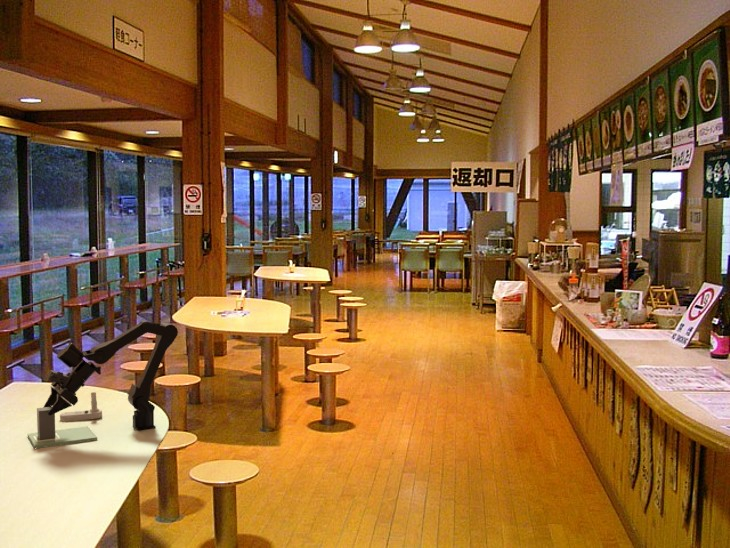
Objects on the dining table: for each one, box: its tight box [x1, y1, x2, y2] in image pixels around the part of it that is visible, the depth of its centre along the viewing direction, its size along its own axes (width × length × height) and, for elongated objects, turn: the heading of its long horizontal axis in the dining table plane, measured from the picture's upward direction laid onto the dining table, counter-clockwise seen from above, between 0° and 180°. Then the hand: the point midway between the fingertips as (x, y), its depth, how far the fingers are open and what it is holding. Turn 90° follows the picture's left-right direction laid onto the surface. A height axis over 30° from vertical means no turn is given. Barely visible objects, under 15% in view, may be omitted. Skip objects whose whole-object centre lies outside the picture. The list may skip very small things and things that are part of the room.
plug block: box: [36, 406, 56, 440], centre depth 270 cm, size 5×4×10 cm
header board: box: [27, 425, 98, 449], centre depth 273 cm, size 20×16×2 cm
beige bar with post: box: [59, 391, 103, 422], centre depth 299 cm, size 5×10×15 cm
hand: (46, 411), depth 270 cm, fingers open, 9 cm apart
